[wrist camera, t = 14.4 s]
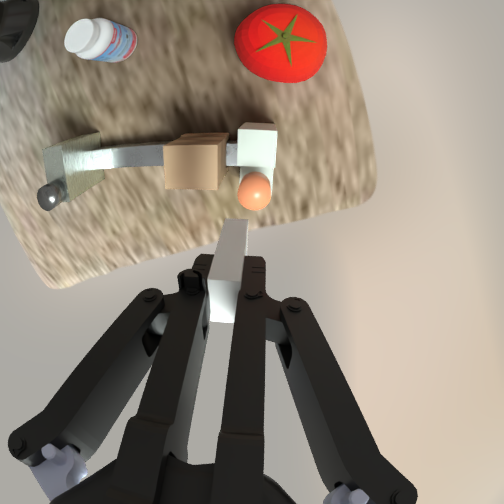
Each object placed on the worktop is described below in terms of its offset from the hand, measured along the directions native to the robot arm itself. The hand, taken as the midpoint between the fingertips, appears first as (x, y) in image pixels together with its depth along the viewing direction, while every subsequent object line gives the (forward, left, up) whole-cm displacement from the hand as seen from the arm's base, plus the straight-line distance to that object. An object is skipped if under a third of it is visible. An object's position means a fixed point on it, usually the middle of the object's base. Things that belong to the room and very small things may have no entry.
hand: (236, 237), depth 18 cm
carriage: (-6, +2, -22) cm, 23 cm away
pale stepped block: (+1, +2, -22) cm, 22 cm away
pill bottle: (-20, +20, -23) cm, 36 cm away
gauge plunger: (+1, -1, -15) cm, 15 cm away
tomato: (+3, +17, -23) cm, 28 cm away
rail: (-15, +2, -22) cm, 27 cm away
